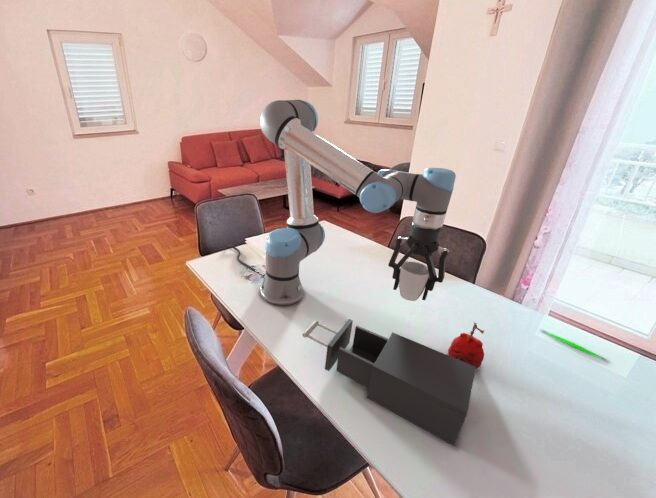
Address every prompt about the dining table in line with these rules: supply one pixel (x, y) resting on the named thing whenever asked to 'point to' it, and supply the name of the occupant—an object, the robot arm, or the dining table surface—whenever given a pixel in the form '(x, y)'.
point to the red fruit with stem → (467, 348)
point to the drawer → (351, 351)
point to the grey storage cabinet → (422, 386)
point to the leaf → (574, 345)
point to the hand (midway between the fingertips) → (409, 292)
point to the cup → (412, 280)
